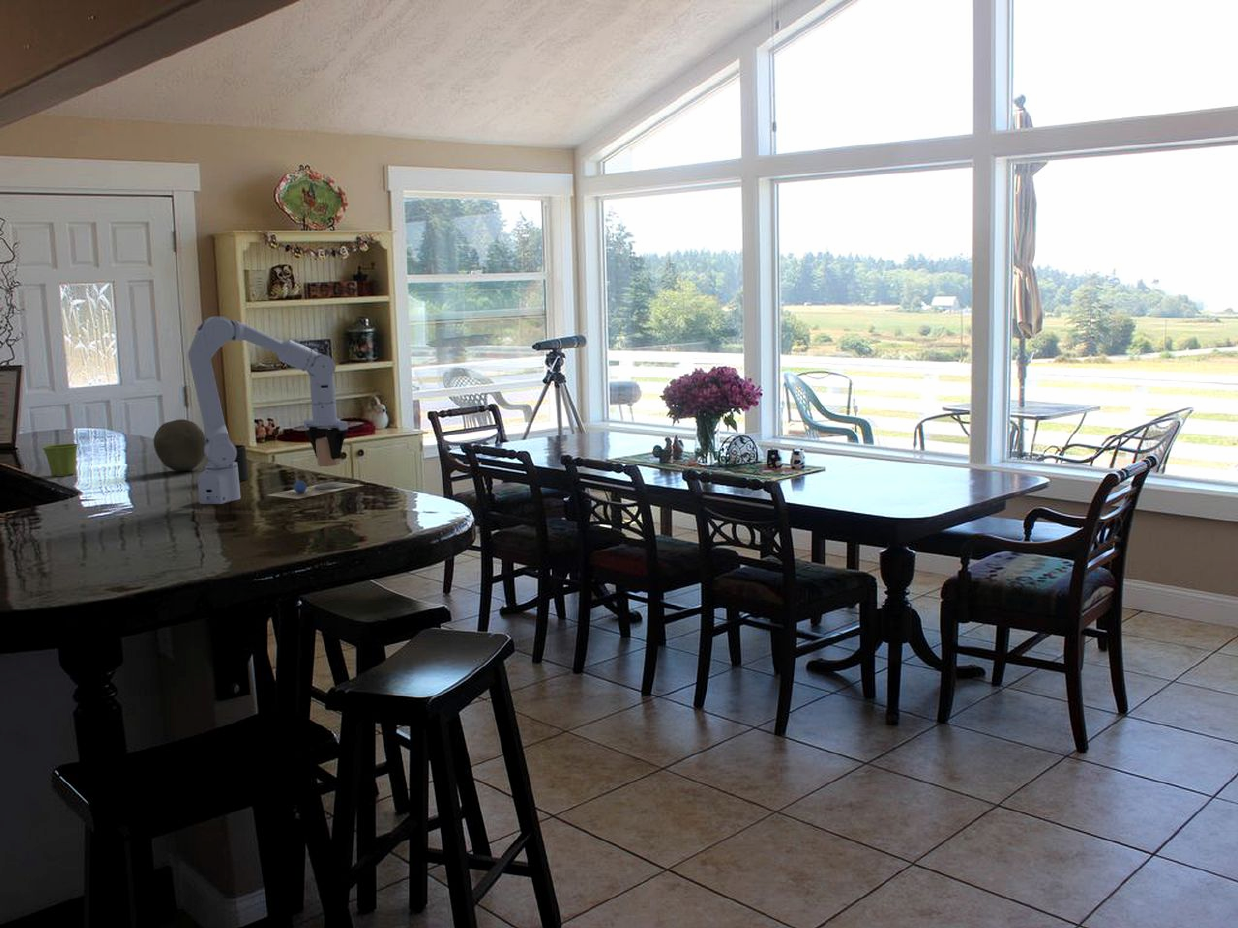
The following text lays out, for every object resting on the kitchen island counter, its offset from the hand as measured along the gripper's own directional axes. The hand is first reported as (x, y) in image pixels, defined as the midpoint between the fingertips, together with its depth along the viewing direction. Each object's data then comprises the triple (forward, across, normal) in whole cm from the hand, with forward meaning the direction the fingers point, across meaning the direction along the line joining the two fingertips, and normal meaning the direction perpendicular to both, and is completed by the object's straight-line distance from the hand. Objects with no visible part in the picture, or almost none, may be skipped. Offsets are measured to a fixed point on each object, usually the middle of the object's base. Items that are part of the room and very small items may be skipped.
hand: (328, 458), depth 288 cm
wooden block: (+2, 0, 0) cm, 2 cm away
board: (+8, 0, +4) cm, 9 cm away
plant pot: (+8, +102, +15) cm, 103 cm away
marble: (+6, 0, +9) cm, 11 cm away
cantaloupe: (+8, +71, -4) cm, 71 cm away
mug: (+8, +43, 0) cm, 43 cm away
